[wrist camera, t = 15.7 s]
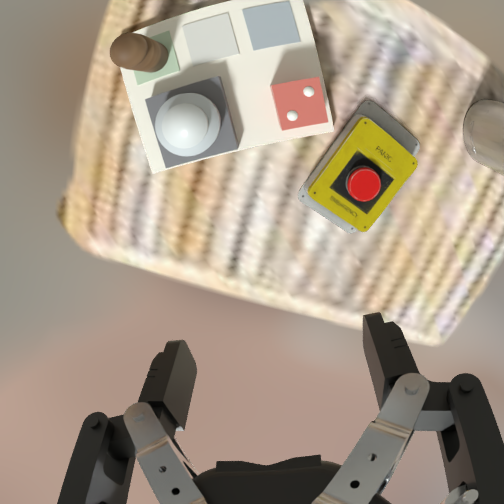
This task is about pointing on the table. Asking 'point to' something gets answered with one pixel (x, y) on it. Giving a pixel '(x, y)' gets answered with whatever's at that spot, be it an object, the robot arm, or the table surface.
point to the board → (228, 73)
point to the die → (299, 103)
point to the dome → (188, 124)
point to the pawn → (138, 53)
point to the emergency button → (361, 170)
